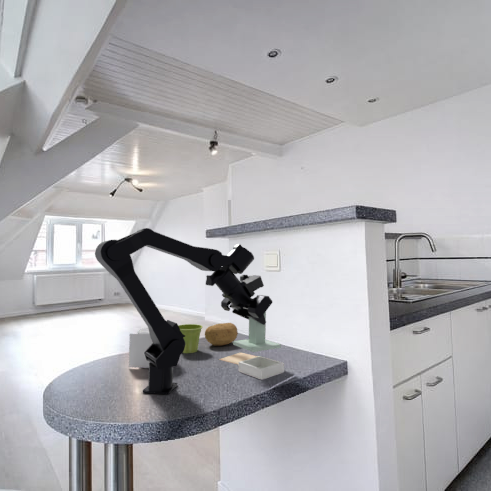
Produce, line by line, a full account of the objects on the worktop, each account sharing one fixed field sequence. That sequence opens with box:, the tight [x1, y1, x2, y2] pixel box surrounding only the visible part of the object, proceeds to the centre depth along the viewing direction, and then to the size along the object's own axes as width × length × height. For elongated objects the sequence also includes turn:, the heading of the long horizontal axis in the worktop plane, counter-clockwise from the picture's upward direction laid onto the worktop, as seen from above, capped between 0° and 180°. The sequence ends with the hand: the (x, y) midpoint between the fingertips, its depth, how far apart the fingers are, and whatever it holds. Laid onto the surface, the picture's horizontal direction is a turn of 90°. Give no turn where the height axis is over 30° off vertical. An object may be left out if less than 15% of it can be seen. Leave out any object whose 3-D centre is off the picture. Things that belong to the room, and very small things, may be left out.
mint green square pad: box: [218, 352, 259, 366], centre depth 105 cm, size 11×11×1 cm
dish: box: [238, 356, 285, 381], centre depth 93 cm, size 9×9×3 cm
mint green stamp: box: [232, 311, 282, 353], centre depth 98 cm, size 10×10×11 cm
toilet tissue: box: [128, 327, 153, 369], centre depth 101 cm, size 11×12×10 cm
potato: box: [204, 322, 238, 347], centre depth 124 cm, size 10×14×8 cm
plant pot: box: [178, 323, 203, 354], centre depth 115 cm, size 9×9×9 cm
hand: (260, 322), depth 98 cm, fingers closed on mint green stamp, 3 cm apart
